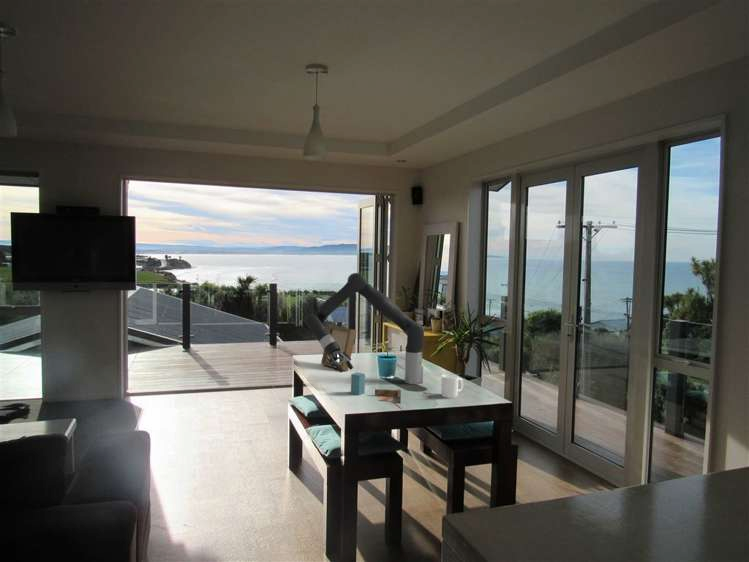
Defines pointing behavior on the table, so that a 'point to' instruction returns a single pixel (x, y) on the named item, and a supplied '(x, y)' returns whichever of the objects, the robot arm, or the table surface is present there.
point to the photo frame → (341, 343)
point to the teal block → (357, 383)
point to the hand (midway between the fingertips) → (347, 370)
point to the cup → (450, 386)
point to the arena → (388, 394)
